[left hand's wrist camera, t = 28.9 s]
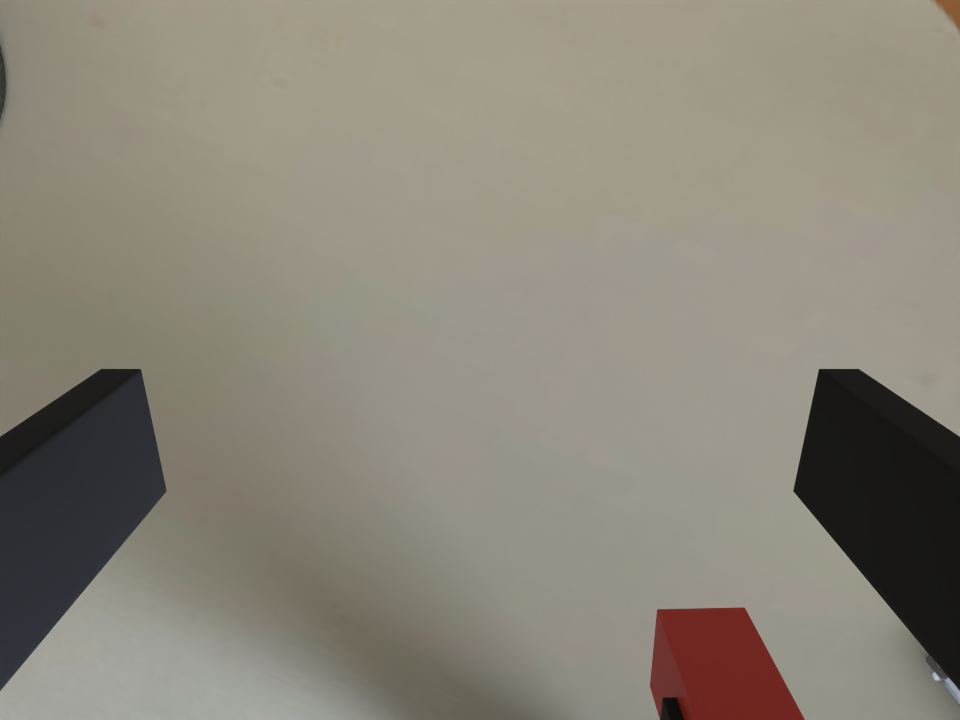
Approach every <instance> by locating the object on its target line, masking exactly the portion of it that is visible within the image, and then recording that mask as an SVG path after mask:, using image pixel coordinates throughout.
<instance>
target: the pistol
mask: <svg viewBox="0 0 960 720" xmlns="http://www.w3.org/2000/svg"><path fill="white" fill-rule="evenodd" d="M926 661H927V663H928V664H929V666H930V667H931V668H932V670H931V672H930V673H931V675H932V677H933V679H934V680H935V681H939V680H941V681H942V683H943V684H944V685H945V687H946V688H947V689H948V691H949V692H950V693H951V694H952V696H953V697H954V698H955V700H956V701H957V702H958V704H959V705H960V691H959V689H958V688H957V687H956V686H955V685H954V683H953V682H952V681H951V680H950V679H949V677H948V676H947V675H946V674H945V673H944V671H943V670H942V669H941V668H940V667H939V665H938V664H937V663H936V662H935V661H934V659H933V658H932V657H931V656H930V655H929V656H927V657H926Z"/></svg>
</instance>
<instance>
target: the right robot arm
mask: <svg viewBox="0 0 960 720" xmlns="http://www.w3.org/2000/svg"><path fill="white" fill-rule="evenodd" d="M660 720H684V718H683V715H682V712H681V709H680V706H679V703H678V700H677V697H663V698H662V708H661V717H660Z"/></svg>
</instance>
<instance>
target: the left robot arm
mask: <svg viewBox="0 0 960 720" xmlns="http://www.w3.org/2000/svg"><path fill="white" fill-rule="evenodd" d="M5 87H6V82H5V68H4V61H3V56H2V51H1V47H0V118H1V114H2V111H3V106H4V100H5ZM165 492H166V486H165V481H164V476H163V472H162V467H161V462H160V457H159V453H158V448H157V443H156V438H155V434H154V429H153V424H152V420H151V415H150V410H149V405H148V401H147V396H146V391H145V386H144V382H143V377H142V372H141V369H101V370H99V371H98V372H96V373H95V374H93V375H92V376H90V377H89V378H87V379H86V380H84V381H83V382H81V383H80V384H78V385H77V386H75V387H74V388H72V389H71V390H69V391H68V392H66V393H65V394H63V395H62V396H61V397H59V398H58V399H56V400H55V401H53V402H52V403H50V404H49V405H47V406H46V407H44V408H43V409H41V410H40V411H38V412H37V413H35V414H34V415H32V416H31V417H29V418H28V419H26V420H25V421H23V422H22V423H20V424H19V425H17V426H16V427H14V428H13V429H11V430H10V431H8V432H7V433H5V434H4V435H2V436H1V437H0V691H1V689H2V688H3V687H4V686H5V685H6V683H7V682H8V681H9V680H10V679H11V677H12V676H13V675H14V674H15V673H16V671H17V670H18V669H19V668H20V667H21V665H22V664H23V663H24V662H25V661H26V659H27V658H28V657H29V656H30V655H31V653H32V652H33V651H34V650H35V649H36V647H37V646H38V645H39V644H40V643H41V641H42V640H43V639H44V638H45V637H46V635H47V634H48V633H49V632H50V631H51V629H52V628H53V627H54V626H55V625H56V623H57V622H58V621H59V620H60V618H61V617H62V616H63V615H64V614H65V612H66V611H67V610H68V609H69V608H70V606H71V605H72V604H73V603H74V602H75V600H76V599H77V598H78V597H79V596H80V594H81V593H82V592H83V591H84V590H85V588H86V587H87V586H88V585H89V584H90V582H91V581H92V580H93V579H94V578H95V576H96V575H97V574H98V573H99V572H100V570H101V569H102V568H103V567H104V566H105V564H106V563H107V562H108V561H109V560H110V558H111V557H112V556H113V555H114V554H115V552H116V551H117V550H118V549H119V548H120V546H121V545H122V544H123V543H124V542H125V540H126V539H127V538H128V537H129V536H130V534H131V533H132V532H133V531H134V530H135V528H136V527H137V526H138V525H139V524H140V522H141V521H142V520H143V519H144V518H145V516H146V515H147V514H148V513H149V512H150V510H151V509H152V508H153V507H154V506H155V504H156V503H157V502H158V501H159V500H160V498H161V497H162V496H163V495H164V494H165ZM794 492H795V494H796V495H797V496H798V497H799V498H800V500H801V501H802V502H803V503H804V504H805V506H806V507H807V508H808V509H809V510H810V512H811V513H812V514H813V515H814V516H815V518H816V519H817V520H818V521H819V522H820V524H821V525H822V526H823V527H824V528H825V530H826V531H827V532H828V533H829V534H830V536H831V537H832V538H833V539H834V540H835V542H836V543H837V544H838V545H839V546H840V548H841V549H842V550H843V551H844V552H845V554H846V555H847V556H848V557H849V558H850V560H851V561H852V562H853V563H854V564H855V566H856V567H857V568H858V569H859V570H860V572H861V573H862V574H863V575H864V576H865V578H866V579H867V580H868V581H869V582H870V584H871V585H872V586H873V587H874V588H875V590H876V591H877V592H878V593H879V594H880V596H881V597H882V598H883V599H884V600H885V602H886V603H887V604H888V605H889V606H890V608H891V609H892V610H893V611H894V612H895V614H896V615H897V616H898V617H899V619H900V620H901V621H902V622H903V623H904V625H905V626H906V627H907V628H908V629H909V631H910V632H911V633H912V634H913V635H914V637H915V638H916V639H917V640H918V641H919V643H920V644H921V645H922V646H923V647H924V649H925V650H926V651H927V652H928V653H929V655H930V656H931V657H932V658H933V659H934V661H935V662H936V663H937V664H938V665H939V667H940V668H941V669H942V670H943V671H944V673H945V674H946V675H947V676H948V677H949V679H950V680H951V681H952V682H953V683H954V685H955V686H956V687H957V688H958V689H959V691H960V437H959V436H958V435H956V434H955V433H953V432H952V431H950V430H949V429H947V428H946V427H944V426H943V425H941V424H940V423H938V422H937V421H935V420H934V419H932V418H931V417H929V416H928V415H926V414H925V413H923V412H922V411H920V410H919V409H917V408H916V407H914V406H913V405H911V404H910V403H908V402H907V401H905V400H904V399H902V398H901V397H899V396H898V395H897V394H895V393H894V392H892V391H891V390H889V389H888V388H886V387H885V386H883V385H882V384H880V383H879V382H877V381H876V380H874V379H873V378H871V377H870V376H868V375H867V374H865V373H864V372H862V371H861V370H859V369H819V372H818V377H817V382H816V386H815V391H814V396H813V401H812V405H811V410H810V415H809V420H808V424H807V429H806V434H805V438H804V443H803V448H802V453H801V457H800V462H799V467H798V472H797V476H796V481H795V486H794Z"/></svg>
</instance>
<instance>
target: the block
mask: <svg viewBox="0 0 960 720" xmlns="http://www.w3.org/2000/svg"><path fill="white" fill-rule="evenodd" d="M650 688H651V691H652V694H653V698H654V701H655V704H656V708H657V711H658V715H659V718H660V717H661V708H662V698H663V697H677V700H678V703H679V706H680V709H681V712H682V715H683V718H684V720H805V719H804V718H803V716H802V714H801V712H800V710H799V708H798V706H797V704H796V703H795V701H794V699H793V697H792V695H791V693H790V691H789V690H788V688H787V686H786V684H785V682H784V680H783V678H782V676H781V675H780V673H779V671H778V669H777V667H776V665H775V663H774V662H773V660H772V658H771V656H770V654H769V652H768V650H767V648H766V647H765V645H764V643H763V641H762V639H761V637H760V635H759V634H758V632H757V630H756V628H755V626H754V624H753V622H752V620H751V619H750V617H749V615H748V613H747V611H746V609H745V608H703V609H658V610H657V618H656V628H655V639H654V650H653V660H652V671H651V682H650Z"/></svg>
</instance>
